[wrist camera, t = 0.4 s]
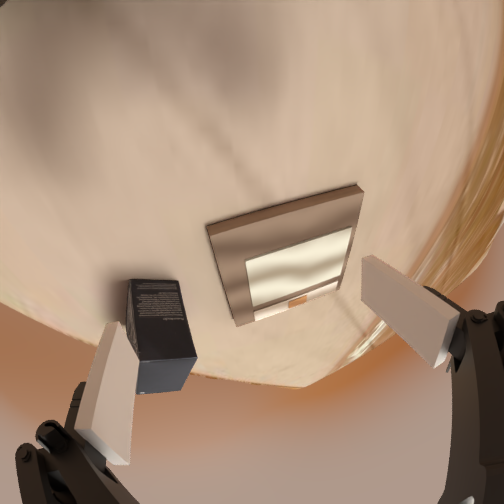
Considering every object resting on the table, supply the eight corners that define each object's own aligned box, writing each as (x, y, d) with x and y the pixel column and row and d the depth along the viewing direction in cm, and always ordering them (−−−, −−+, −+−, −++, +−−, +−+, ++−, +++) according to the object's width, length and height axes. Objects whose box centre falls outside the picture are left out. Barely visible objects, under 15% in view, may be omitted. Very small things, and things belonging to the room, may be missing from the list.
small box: (168, 326, 38) (182, 392, 31) (125, 326, 35) (134, 395, 28) (181, 279, 32) (201, 359, 25) (128, 277, 29) (136, 363, 22)
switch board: (206, 226, 27) (210, 238, 26) (357, 184, 30) (366, 193, 29) (233, 319, 42) (237, 328, 41) (335, 282, 45) (340, 290, 44)
